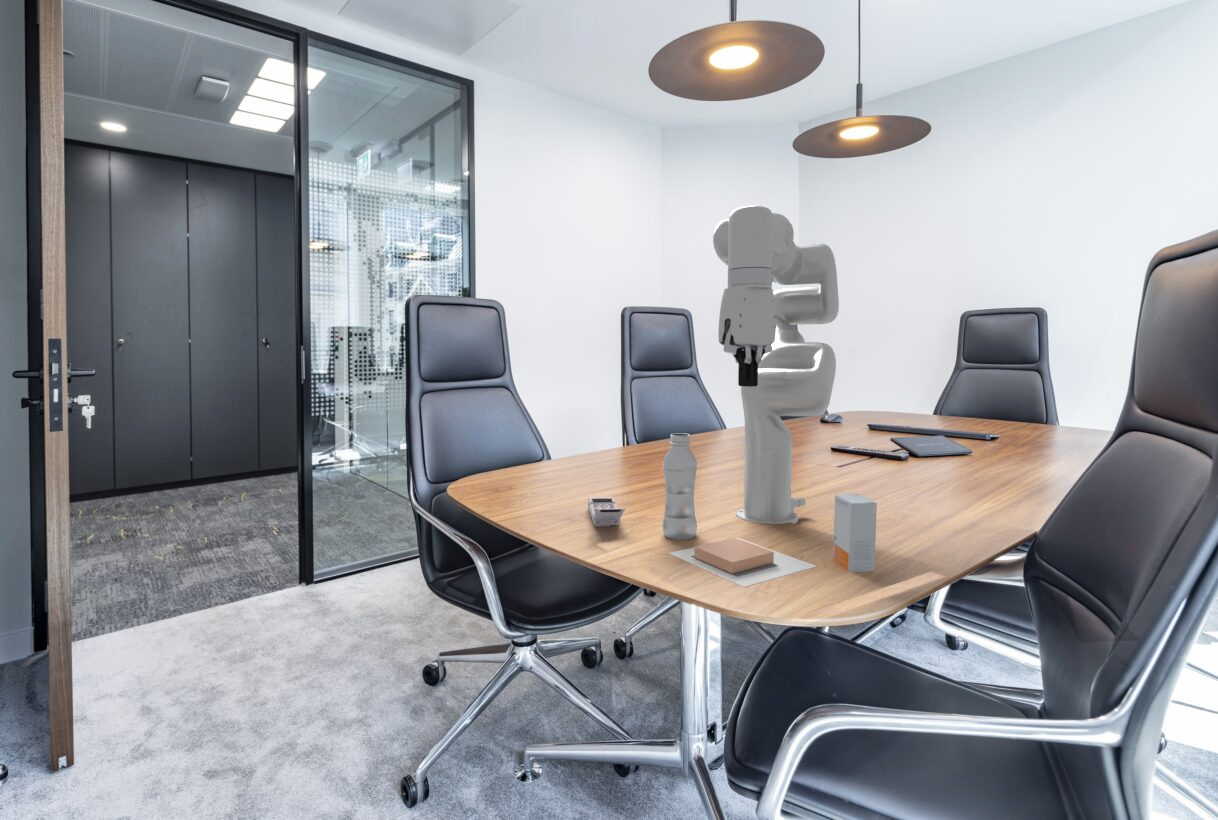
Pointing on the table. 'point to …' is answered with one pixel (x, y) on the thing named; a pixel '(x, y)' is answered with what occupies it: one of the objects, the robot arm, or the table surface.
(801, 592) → the table surface
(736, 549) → the tile
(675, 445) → the plastic bottle
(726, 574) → the mat
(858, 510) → the skincare box
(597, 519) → the mobile phone
